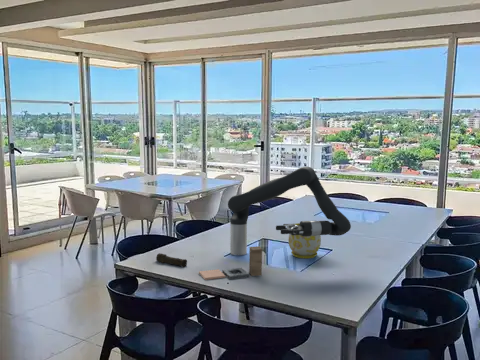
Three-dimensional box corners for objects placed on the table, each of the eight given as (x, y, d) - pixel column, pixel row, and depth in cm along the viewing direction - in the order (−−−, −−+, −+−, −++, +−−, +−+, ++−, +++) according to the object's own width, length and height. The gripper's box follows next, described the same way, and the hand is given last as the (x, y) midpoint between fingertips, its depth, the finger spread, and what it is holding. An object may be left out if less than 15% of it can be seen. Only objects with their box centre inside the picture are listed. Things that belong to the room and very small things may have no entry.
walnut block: (249, 272, 222) (249, 246, 221) (259, 272, 223) (259, 246, 222) (251, 276, 217) (251, 249, 216) (261, 275, 218) (262, 249, 217)
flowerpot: (284, 257, 247) (284, 228, 245) (292, 249, 264) (293, 221, 262) (316, 261, 241) (317, 231, 239) (323, 253, 258) (324, 224, 256)
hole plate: (222, 272, 222) (222, 269, 221) (241, 270, 225) (241, 267, 225) (229, 279, 212) (229, 276, 212) (249, 276, 216) (249, 273, 216)
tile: (199, 273, 220) (198, 271, 220) (218, 271, 224) (218, 269, 224) (204, 280, 211) (204, 277, 211) (225, 277, 215) (225, 275, 215)
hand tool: (187, 266, 232) (187, 257, 232) (182, 268, 229) (182, 259, 229) (160, 260, 243) (160, 251, 242) (154, 262, 239) (154, 253, 239)
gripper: (305, 218, 229) (274, 219, 226) (315, 223, 216) (282, 225, 212) (305, 232, 230) (274, 234, 227) (315, 239, 216) (282, 241, 213)
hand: (278, 229), depth 220 cm, fingers open, 8 cm apart
